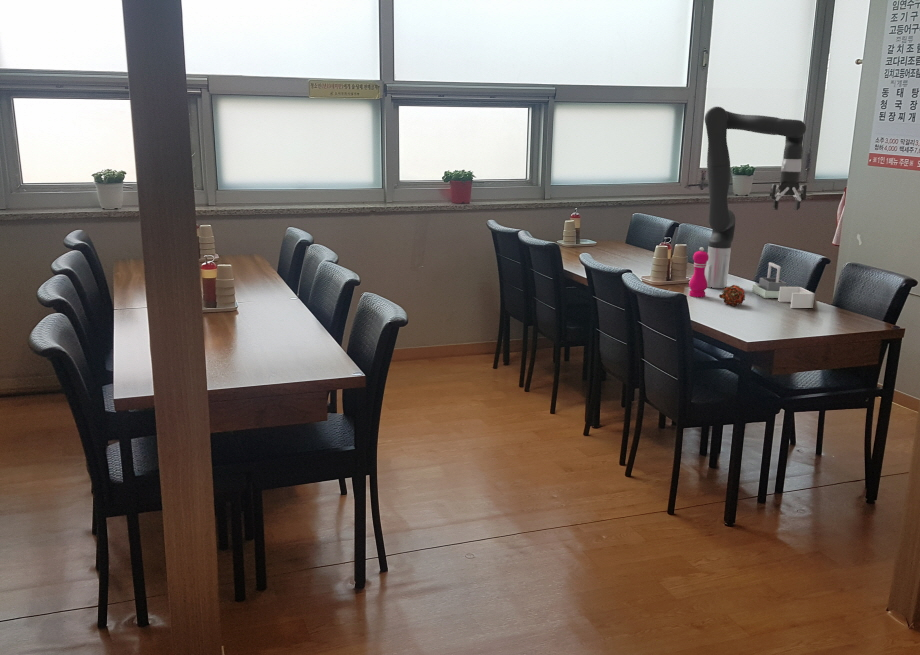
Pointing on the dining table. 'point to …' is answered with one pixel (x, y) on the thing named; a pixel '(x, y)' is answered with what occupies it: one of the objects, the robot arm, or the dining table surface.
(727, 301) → the brown scaly oval lump
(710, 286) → the robot arm
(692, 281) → the pepper mill
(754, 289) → the tray
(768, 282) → the caddy
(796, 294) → the bay
